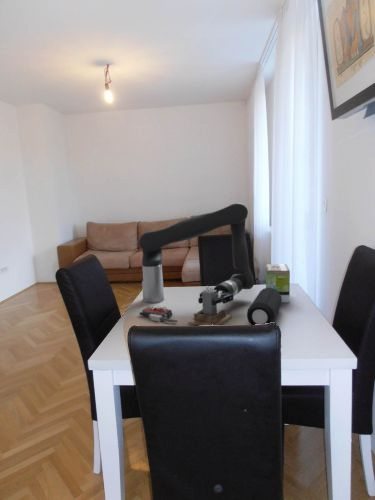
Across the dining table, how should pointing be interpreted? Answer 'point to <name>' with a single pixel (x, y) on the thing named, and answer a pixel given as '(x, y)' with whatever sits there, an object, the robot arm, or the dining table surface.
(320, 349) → the dining table surface
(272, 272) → the tea box
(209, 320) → the tray
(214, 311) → the connector plug
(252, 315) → the portable speaker
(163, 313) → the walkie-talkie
